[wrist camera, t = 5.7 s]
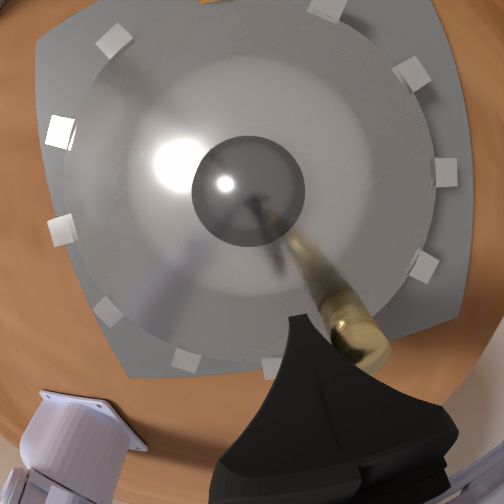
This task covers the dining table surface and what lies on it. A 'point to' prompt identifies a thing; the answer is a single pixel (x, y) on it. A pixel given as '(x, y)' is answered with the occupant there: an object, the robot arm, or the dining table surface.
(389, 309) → the timing board
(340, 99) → the sprocket
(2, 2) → the travel mug
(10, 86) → the dining table surface
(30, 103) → the dining table surface
